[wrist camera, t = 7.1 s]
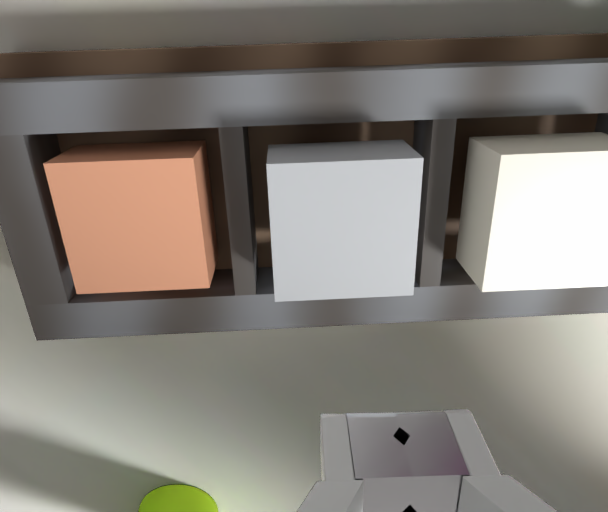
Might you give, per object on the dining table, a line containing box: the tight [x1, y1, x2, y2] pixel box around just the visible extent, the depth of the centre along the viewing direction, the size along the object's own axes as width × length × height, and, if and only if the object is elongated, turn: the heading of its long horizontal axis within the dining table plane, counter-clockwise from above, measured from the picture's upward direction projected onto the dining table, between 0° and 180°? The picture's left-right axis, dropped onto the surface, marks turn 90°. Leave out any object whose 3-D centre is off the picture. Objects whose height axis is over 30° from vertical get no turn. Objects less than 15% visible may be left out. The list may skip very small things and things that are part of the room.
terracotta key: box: [43, 140, 218, 294], centre depth 22 cm, size 6×6×4 cm
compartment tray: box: [0, 33, 608, 340], centre depth 24 cm, size 30×14×5 cm, turn 92°
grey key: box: [266, 140, 424, 302], centre depth 21 cm, size 6×6×4 cm
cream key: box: [456, 132, 608, 292], centre depth 22 cm, size 6×6×4 cm
